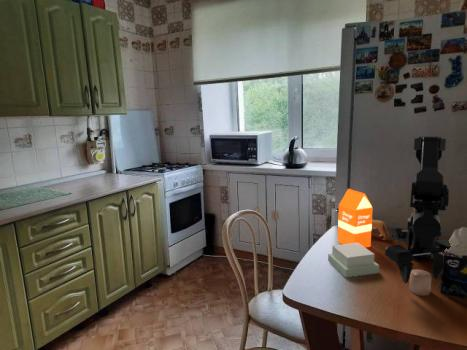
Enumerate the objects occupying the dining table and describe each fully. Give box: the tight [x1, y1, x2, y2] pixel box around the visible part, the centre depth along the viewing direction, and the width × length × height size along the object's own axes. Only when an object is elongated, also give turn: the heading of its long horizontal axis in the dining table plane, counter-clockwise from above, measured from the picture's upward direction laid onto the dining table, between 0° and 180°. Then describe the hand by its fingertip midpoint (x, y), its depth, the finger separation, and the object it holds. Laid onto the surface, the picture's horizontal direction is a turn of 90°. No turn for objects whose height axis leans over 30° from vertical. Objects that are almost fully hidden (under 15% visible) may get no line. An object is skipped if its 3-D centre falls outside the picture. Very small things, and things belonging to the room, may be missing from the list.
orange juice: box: [337, 188, 374, 249], centre depth 121 cm, size 8×9×20 cm
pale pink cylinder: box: [408, 269, 433, 297], centre depth 91 cm, size 5×5×5 cm
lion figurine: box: [372, 219, 393, 241], centre depth 130 cm, size 15×5×9 cm, turn 52°
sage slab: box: [327, 253, 380, 278], centre depth 106 cm, size 11×11×3 cm
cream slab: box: [331, 243, 375, 267], centre depth 106 cm, size 9×9×3 cm
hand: (420, 280), depth 91 cm, fingers open, 9 cm apart
